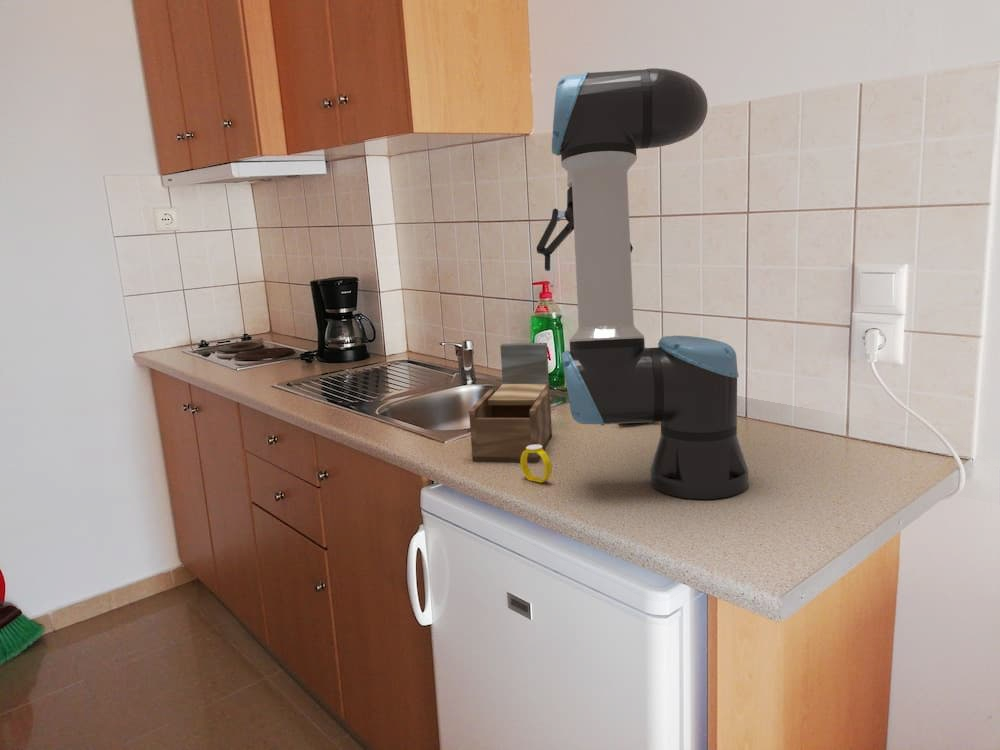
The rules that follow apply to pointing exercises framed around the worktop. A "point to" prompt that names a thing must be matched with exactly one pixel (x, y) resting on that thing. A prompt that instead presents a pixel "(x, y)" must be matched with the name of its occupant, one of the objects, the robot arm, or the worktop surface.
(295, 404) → the worktop surface
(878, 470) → the worktop surface
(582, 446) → the worktop surface
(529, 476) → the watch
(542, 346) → the lid
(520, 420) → the walnut box
